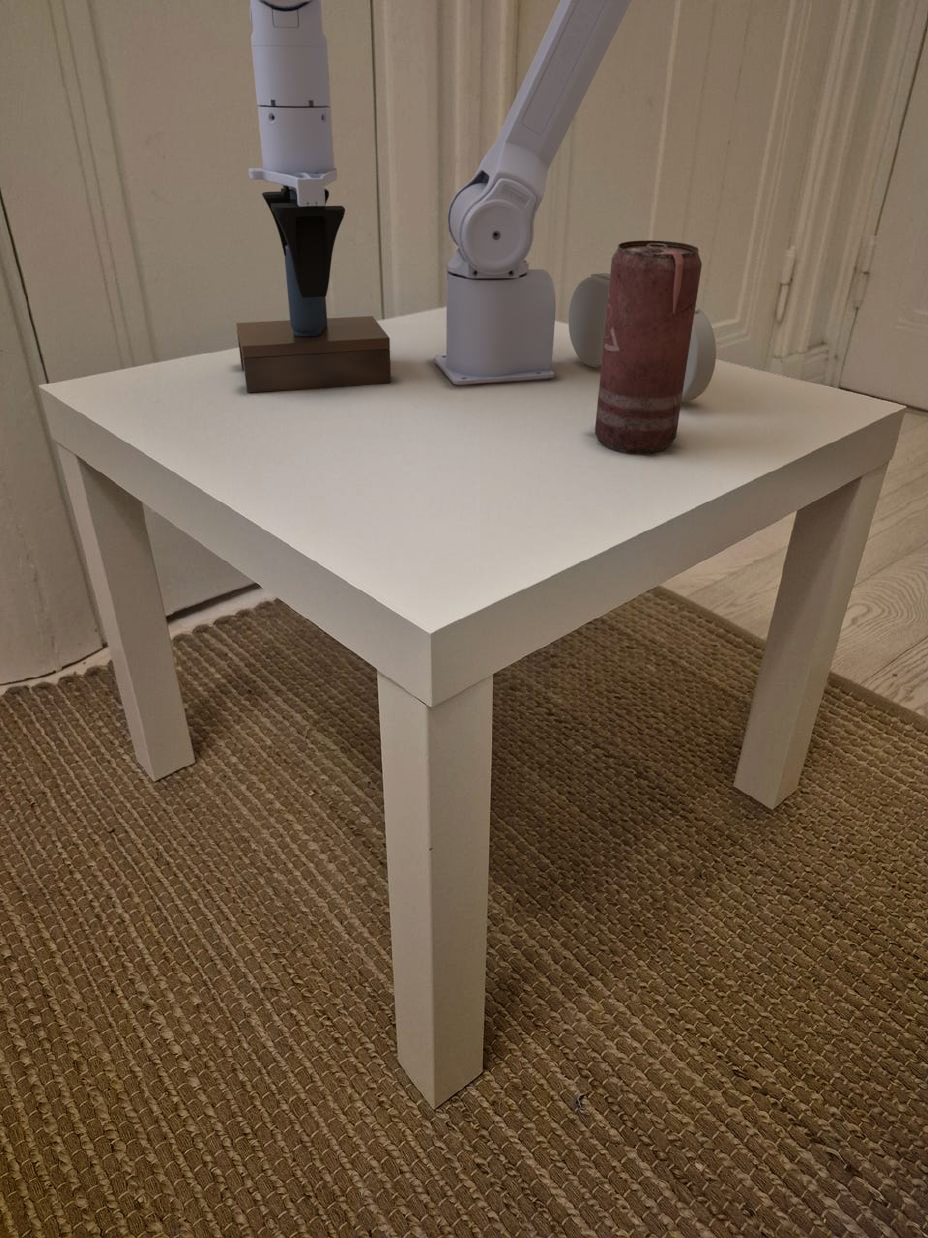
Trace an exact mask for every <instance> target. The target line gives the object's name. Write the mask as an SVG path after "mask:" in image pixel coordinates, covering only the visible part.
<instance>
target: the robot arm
mask: <svg viewBox="0 0 928 1238" xmlns="http://www.w3.org/2000/svg"><path fill="white" fill-rule="evenodd" d="M249 2H250V4H249V8H248V9H249V19H250V20H249V21H250V23H251V26H252V33H251V36H250V44H251V52H252V53H251V55H252V63H253V64H252V66H253V75H254V76H253V77H254V87H255V88H254V89H255V96H256V98H255V99H256V105H257V106H256V107H257V117H258V126H259V127H258V128H259V138H260V148H261V160H262V167H249V168H248V177H249V179H250V180H255V181H257V180H261V181H262V180H263V181H264V182H267V183H271V184H276V185H280V186H282V188H280V191H263V192H262V193H261V196H262V197H263V199H264V201H265V203H266V205H267V207H268V209H269V211H270V213H271V215H272V218H273V221H274V222H275V227H276V228H277V232H278V235H279V239H280V243H281V247H282V252H283V256H284V257H285V256H286V248H285V247H286V246H287V245H288V248H289V252H290V256H291V260H292V265H293V269H294V274H295V278H296V282H297V286H298V289H299V292H300V294H301V297H303V298H305V297H325V296H326V297H327V295H328V290H329V285H330V284H329V283H330V276H331V268H332V267H331V266H332V257H333V251H334V248H335V247H334V246H335V242H336V239H337V235H338V233H339V232H338V231H339V229H340V227H341V224H342V222H343V220H344V218H345V213H346V208H345V207H344V206H343V205H327V202H328V200H329V197H330V191H329V189H327V188H325V187H326V186H328V185H330V184H332V183H334V182H335V181H337V180H338V169H337V168H336V167H335V157H334V155H335V154H334V137H333V121H332V119H333V118H332V106H331V89H330V88H331V86H330V70H329V69H330V68H329V52H328V39H327V37H326V35H325V34H324V30H323V15H322V14H323V13H322V0H250V1H249ZM631 3H632V0H560V1H559V2H558V5H557V7H556V10H555V12H554V14H553V15H552V18H551V20H550V23H549V25H548V27H547V29H546V31H545V33H544V36H543V38H542V40H541V42H540V44H539V46H538V48H537V50H536V53H535V55H534V57H533V59H532V62H531V64H530V65H529V68H528V70H527V72H526V74H525V77H524V79H523V81H522V83H521V86H520V88H519V90H518V91H517V94H516V96H515V98H514V101H513V103H512V105H511V107H510V109H509V111H508V113H507V116H506V118H505V121H504V123H503V124H502V126H501V129H500V131H499V133H498V136H497V138H496V139H495V141H494V143H492V145H491V146H490V148H489V149H488V151H487V153H486V154H485V155H484V157H483V158H482V160H481V161H480V164H479V165H478V166H479V167H478V169H477V170H476V172H475V174H474V175H473V177H472V178H471V179H470V180H469V182H467V183H466V184H465V185H463V186H462V187H461V188H460V189H459V190H458V191H457V192H456V193H455V194H454V195H453V198H452V199H451V201H450V204H449V206H448V209H447V216H446V218H447V219H446V220H447V229H448V232H449V235H450V237H451V239H452V240H453V241H452V242H454V244H455V245H456V246H457V247H458V248H457V249H456V250H455V252H454V255H453V256H452V258H451V259H450V260H449V261H447V262H446V316H445V317H446V324H445V326H446V333H445V335H446V336H445V337H446V338H445V339H446V340H445V341H446V343H445V344H446V345H445V346H446V350H445V351H446V352H445V354H444V355H435V356H434V357H433V362H434V363H435V364H436V365H437V366H438V367H439V369H440V370H441V371H442V372H443V373H444V375H446V376H447V378H448V379H449V380H450V381H451V382H452V384H454V385H457V386H463V385H476V384H487V383H488V384H489V383H491V384H492V383H503V382H518V381H530V380H546V379H553V378H554V377H555V372H554V371H553V370H552V369H553V353H554V341H555V339H554V337H555V323H556V307H557V306H556V301H557V300H556V291H555V285H554V281H553V278H552V276H551V275H550V273H549V271H547V270H545V269H541V268H537V269H536V268H535V269H533V268H530V263H529V262H528V261H527V260H526V258H527V256H528V255H529V253H530V251H531V248H532V246H533V241H534V230H535V219H536V214H537V212H538V210H539V207H540V205H541V203H542V201H543V199H544V195H545V191H546V185H547V179H548V174H549V170H550V167H551V165H552V163H553V161H554V159H555V157H556V155H557V153H558V151H559V149H560V147H561V145H562V143H563V141H564V139H565V137H566V135H567V132H568V130H569V128H570V127H571V124H572V122H573V120H574V119H575V116H576V114H577V112H578V111H579V108H580V106H581V104H582V102H583V100H584V98H585V96H586V94H587V93H588V90H589V87H590V86H591V83H592V82H593V80H594V78H595V75H596V74H597V71H598V69H599V67H600V65H601V64H602V61H603V60H604V58H605V55H606V54H607V51H608V49H609V48H610V45H611V43H612V41H613V39H614V37H615V35H616V32H617V31H618V29H619V26H620V25H621V23H622V21H623V19H624V16H626V13H627V11H628V8H629V6H630V4H631ZM291 190H294V191H295V192H296V194H297V195H295V196H296V203H291V199H290V191H291Z"/></svg>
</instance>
